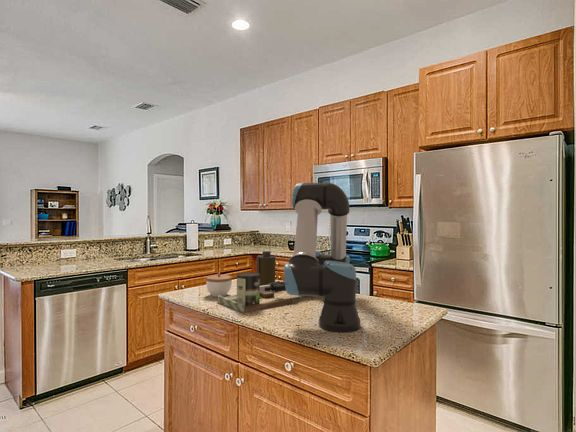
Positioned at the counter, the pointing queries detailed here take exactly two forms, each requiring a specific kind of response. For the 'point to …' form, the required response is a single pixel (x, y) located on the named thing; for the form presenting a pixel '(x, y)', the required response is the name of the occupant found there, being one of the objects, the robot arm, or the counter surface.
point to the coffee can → (248, 288)
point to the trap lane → (232, 303)
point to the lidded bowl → (218, 284)
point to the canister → (266, 268)
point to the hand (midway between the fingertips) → (257, 289)
